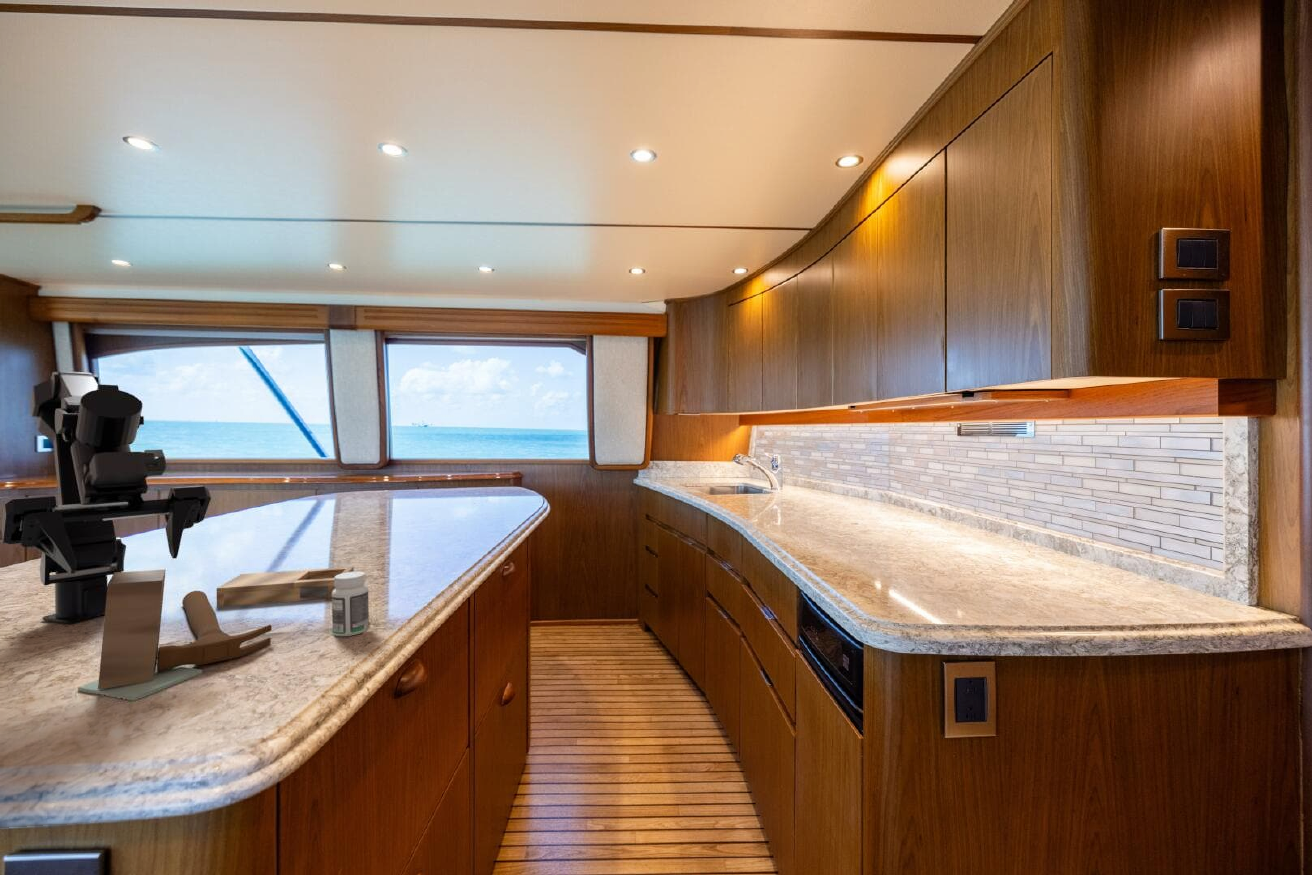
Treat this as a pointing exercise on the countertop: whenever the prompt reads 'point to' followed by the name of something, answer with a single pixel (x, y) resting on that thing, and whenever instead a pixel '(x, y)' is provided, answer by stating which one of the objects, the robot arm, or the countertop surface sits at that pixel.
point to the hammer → (207, 638)
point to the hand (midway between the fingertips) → (127, 563)
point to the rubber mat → (144, 684)
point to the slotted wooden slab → (279, 586)
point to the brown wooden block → (131, 628)
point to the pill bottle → (350, 604)
